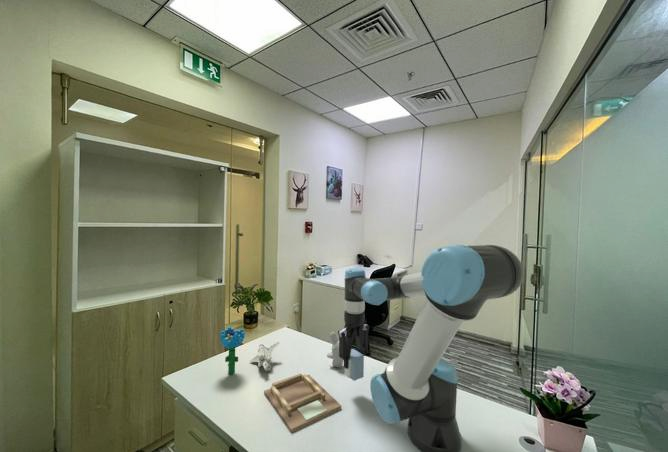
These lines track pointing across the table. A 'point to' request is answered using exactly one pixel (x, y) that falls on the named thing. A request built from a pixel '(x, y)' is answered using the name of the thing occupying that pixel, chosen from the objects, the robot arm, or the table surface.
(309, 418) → the jig
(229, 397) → the table surface
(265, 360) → the toy spacecraft
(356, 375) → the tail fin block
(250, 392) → the table surface
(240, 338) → the toy flower
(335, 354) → the bunny figurine
